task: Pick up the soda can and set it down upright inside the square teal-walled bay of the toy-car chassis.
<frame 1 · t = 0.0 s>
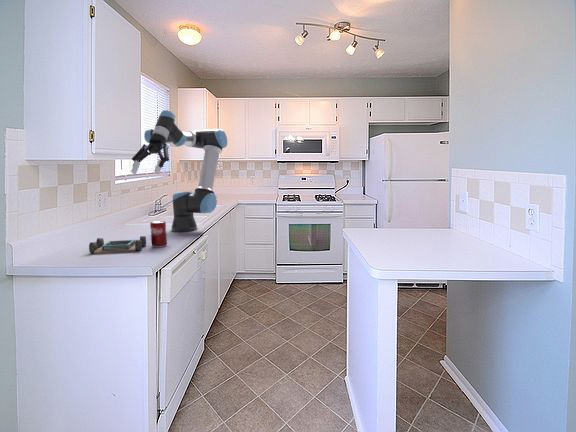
hand: (144, 172, 186), 36 cm above the worktop, tool tilted 35°, fingers open, 13 cm apart
chassis: (119, 249, 188), on the worktop
soda can: (159, 246, 193), on the worktop
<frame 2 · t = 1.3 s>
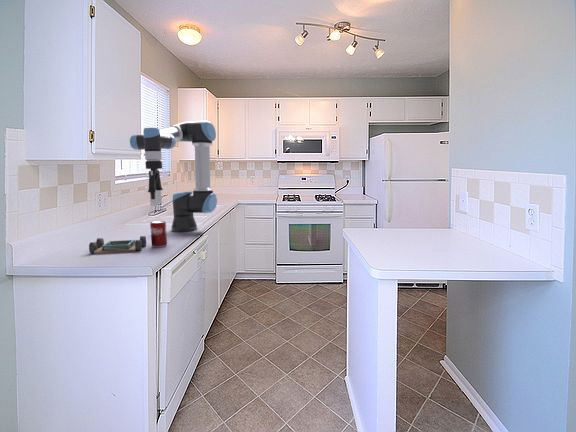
hand: (156, 204, 190), 20 cm above the worktop, tool pointing down, fingers open, 13 cm apart
nothing on the worktop moved.
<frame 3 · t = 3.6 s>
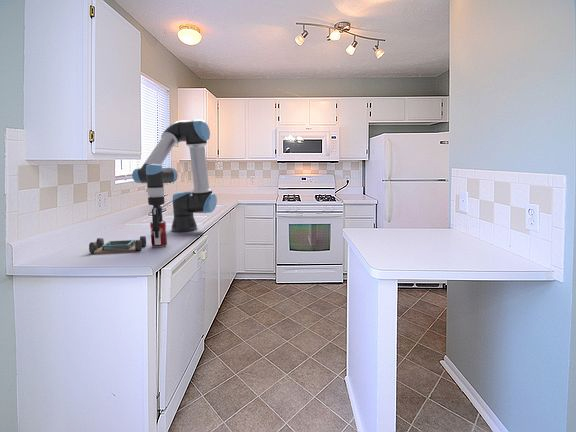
hand: (159, 242, 193), 2 cm above the worktop, tool pointing down, fingers closed on soda can, 7 cm apart
soda can: (159, 246, 193), on the worktop, touching gripper
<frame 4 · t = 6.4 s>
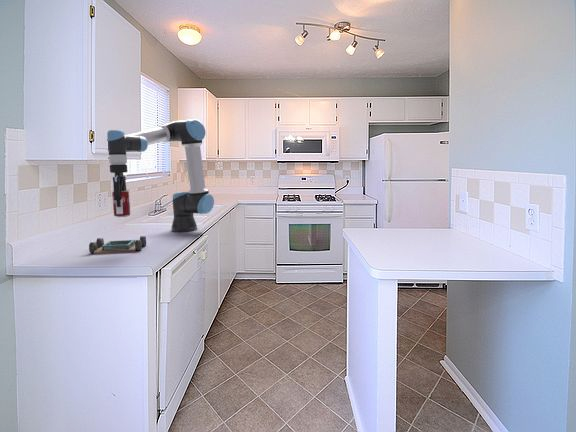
hand: (122, 212, 186), 17 cm above the worktop, tool pointing down, fingers closed on soda can, 7 cm apart
soda can: (122, 216, 186), point 16 cm above the worktop, touching gripper
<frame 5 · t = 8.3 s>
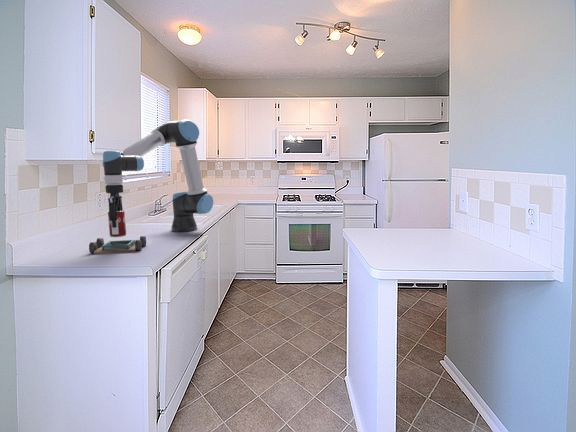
hand: (117, 232, 186), 8 cm above the worktop, tool pointing down, fingers closed on soda can, 7 cm apart
soda can: (118, 236, 187), point 6 cm above the worktop, touching gripper
when the fingers open (4 cm above the worktop, at t = 9.5 s): soda can drops 1 cm, resting on chassis.
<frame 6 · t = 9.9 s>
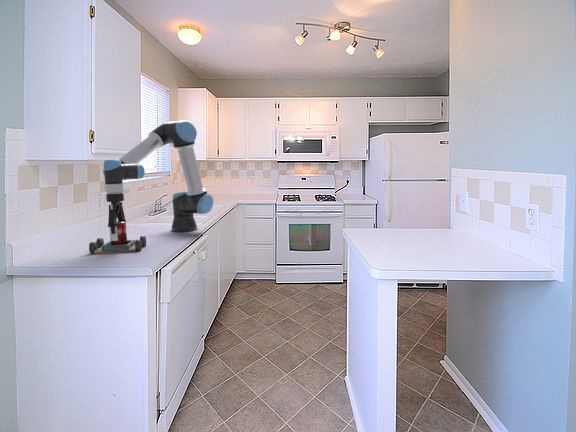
hand: (118, 238, 187), 6 cm above the worktop, tool pointing down, fingers open, 12 cm apart
soda can: (119, 247, 188), point 1 cm above the worktop, touching chassis
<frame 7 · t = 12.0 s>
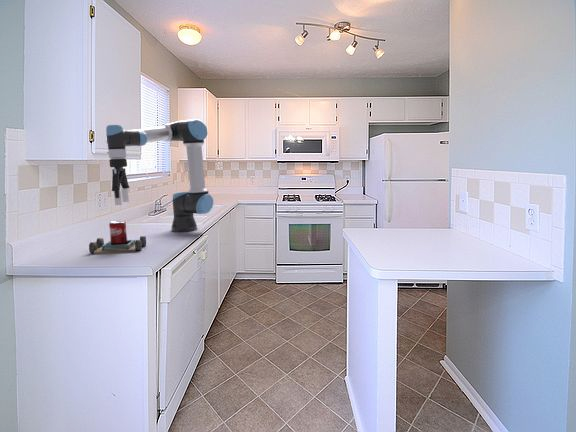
hand: (122, 203, 188), 22 cm above the worktop, tool pointing down, fingers open, 13 cm apart
nothing on the worktop moved.
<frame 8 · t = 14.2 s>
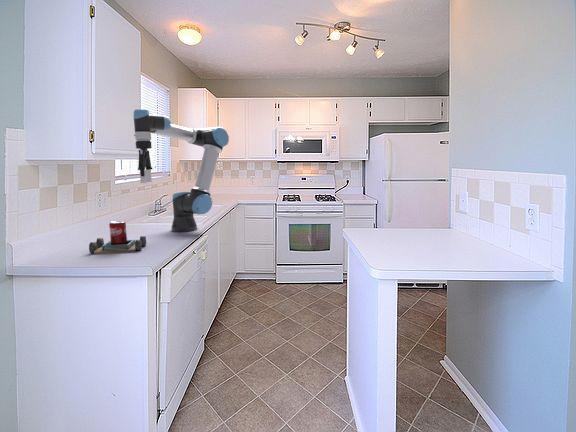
hand: (146, 182, 203), 31 cm above the worktop, tool pointing down, fingers open, 13 cm apart
nothing on the worktop moved.
at the end: soda can 0.1 cm off-centre on the chassis, point 1.0 cm above the chassis's base; soda can tilted 0°; the gripper is holding nothing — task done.
